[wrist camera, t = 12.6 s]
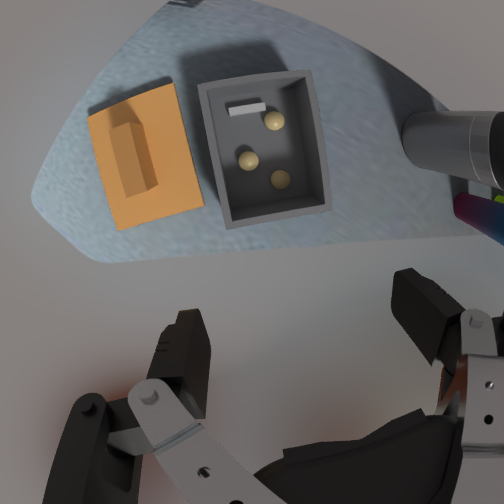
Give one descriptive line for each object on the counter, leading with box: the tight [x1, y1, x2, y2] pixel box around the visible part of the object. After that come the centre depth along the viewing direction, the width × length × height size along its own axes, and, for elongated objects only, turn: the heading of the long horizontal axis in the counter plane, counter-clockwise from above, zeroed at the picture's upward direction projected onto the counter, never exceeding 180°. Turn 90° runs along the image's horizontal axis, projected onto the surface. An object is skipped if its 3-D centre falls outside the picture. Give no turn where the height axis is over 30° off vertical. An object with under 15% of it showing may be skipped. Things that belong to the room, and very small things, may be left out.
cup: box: [454, 193, 504, 246], centre depth 31 cm, size 7×7×15 cm
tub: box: [197, 70, 333, 230], centre depth 29 cm, size 12×16×7 cm
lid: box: [87, 83, 205, 231], centre depth 29 cm, size 12×16×7 cm
